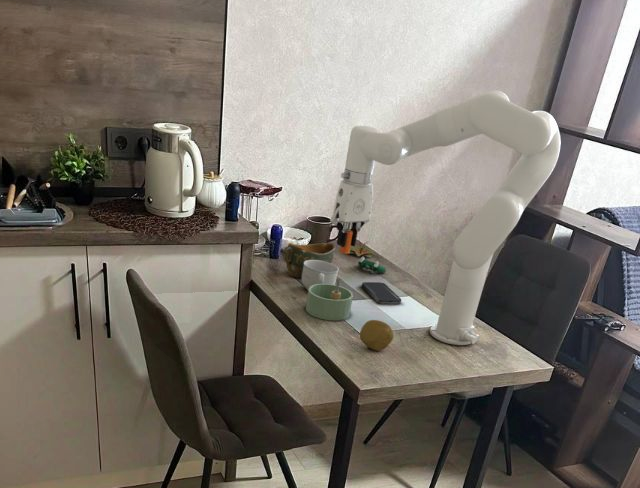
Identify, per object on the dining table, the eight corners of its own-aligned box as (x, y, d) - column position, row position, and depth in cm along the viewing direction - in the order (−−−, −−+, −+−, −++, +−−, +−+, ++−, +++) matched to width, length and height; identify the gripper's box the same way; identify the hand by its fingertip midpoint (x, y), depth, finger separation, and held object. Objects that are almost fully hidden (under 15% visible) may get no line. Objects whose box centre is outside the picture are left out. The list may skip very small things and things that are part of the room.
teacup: (303, 281, 228) (307, 256, 224) (337, 287, 227) (341, 262, 222) (295, 296, 216) (298, 270, 212) (330, 302, 215) (334, 277, 211)
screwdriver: (351, 253, 204) (357, 217, 199) (343, 254, 203) (349, 218, 197) (345, 250, 206) (351, 214, 200) (337, 250, 205) (343, 215, 199)
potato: (355, 343, 193) (361, 315, 189) (382, 343, 195) (388, 315, 191) (363, 354, 188) (369, 326, 183) (391, 354, 189) (397, 326, 185)
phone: (383, 282, 232) (402, 300, 220) (382, 285, 233) (401, 303, 221) (360, 282, 230) (379, 300, 218) (360, 285, 230) (378, 303, 219)
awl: (339, 313, 207) (345, 279, 201) (332, 314, 206) (337, 280, 200) (334, 310, 209) (339, 276, 203) (326, 311, 207) (332, 277, 202)
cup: (270, 265, 237) (274, 234, 231) (328, 267, 242) (333, 236, 237) (280, 279, 227) (284, 248, 221) (340, 281, 232) (345, 249, 227)
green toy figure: (358, 271, 247) (354, 262, 242) (363, 262, 248) (359, 252, 242) (381, 279, 244) (378, 270, 238) (387, 270, 244) (383, 260, 238)
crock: (358, 317, 208) (361, 297, 205) (322, 323, 202) (325, 302, 199) (332, 301, 217) (335, 281, 213) (297, 305, 210) (299, 286, 207)
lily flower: (340, 255, 255) (342, 242, 252) (347, 246, 264) (349, 233, 262) (374, 261, 253) (376, 248, 250) (379, 252, 263) (381, 239, 260)
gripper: (341, 181, 186) (329, 251, 197) (389, 180, 194) (376, 247, 205) (325, 173, 191) (314, 242, 202) (372, 173, 200) (360, 239, 210)
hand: (345, 244), depth 203 cm, fingers closed on screwdriver, 2 cm apart
